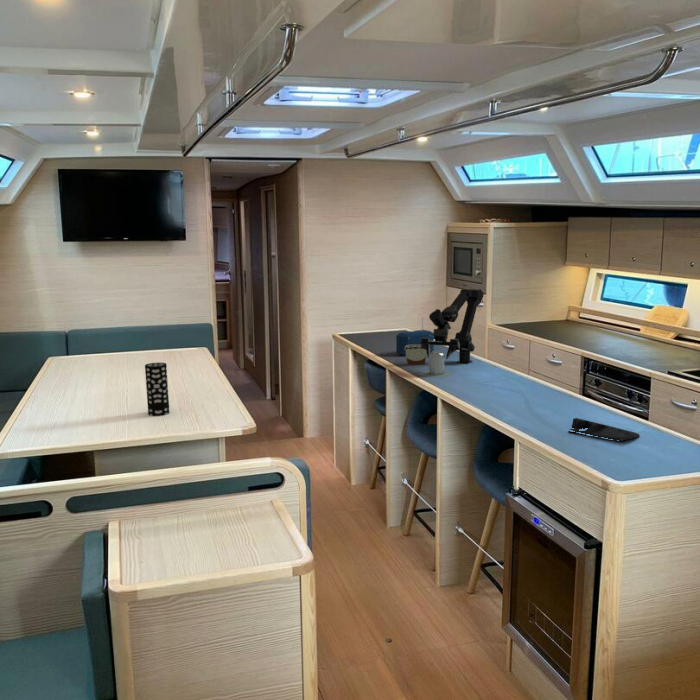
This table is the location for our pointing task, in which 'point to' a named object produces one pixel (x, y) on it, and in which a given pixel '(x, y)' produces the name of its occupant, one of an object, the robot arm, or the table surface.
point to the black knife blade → (602, 430)
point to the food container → (415, 354)
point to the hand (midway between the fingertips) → (437, 358)
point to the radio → (412, 339)
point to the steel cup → (436, 363)
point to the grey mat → (446, 373)
